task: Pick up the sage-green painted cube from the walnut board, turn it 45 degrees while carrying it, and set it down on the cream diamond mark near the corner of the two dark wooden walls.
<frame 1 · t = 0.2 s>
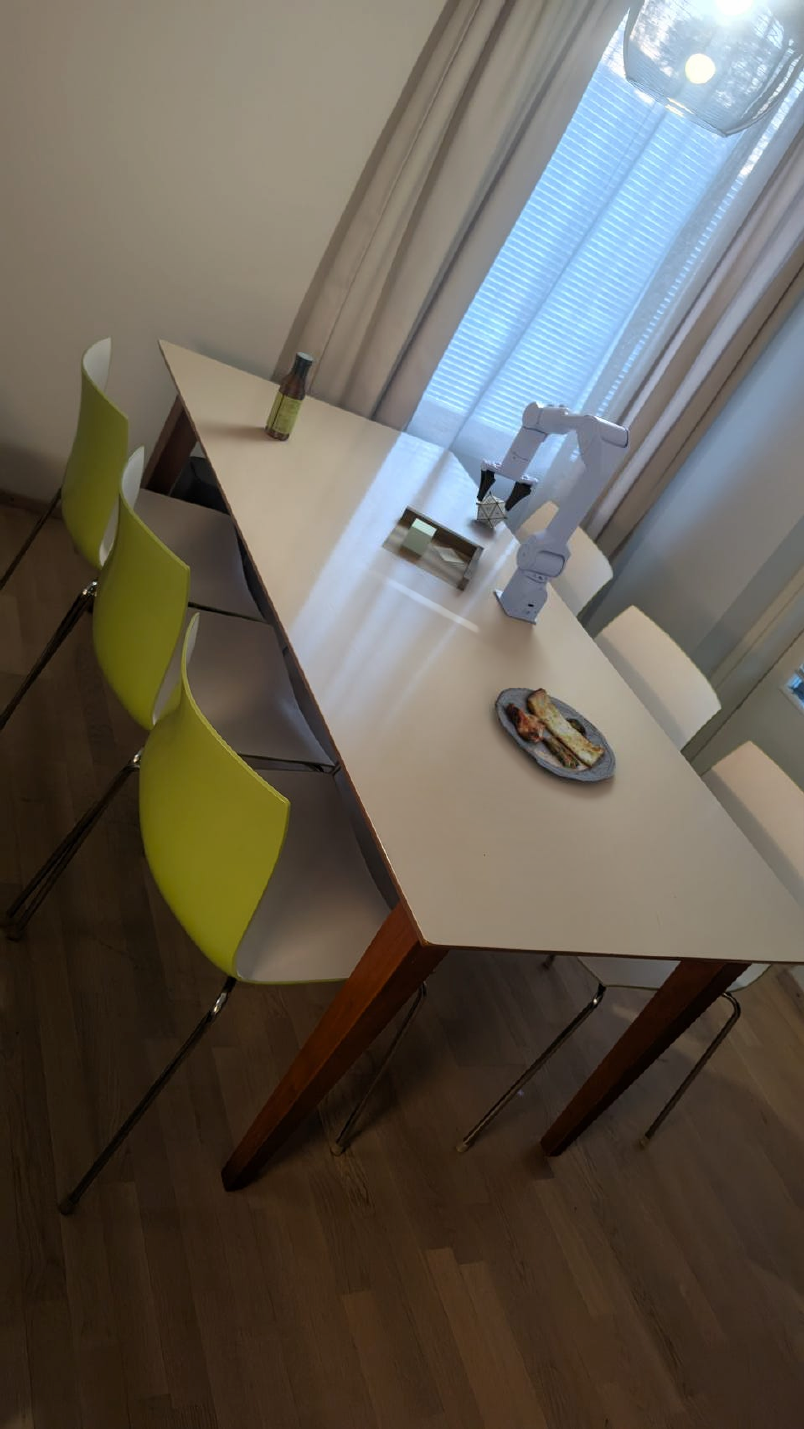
hand: (492, 504, 246), 10 cm above the table, tool pointing down, fingers open, 7 cm apart
food plate: (550, 740, 194), on the table
sauce bottle: (275, 434, 248), on the table
arena: (429, 556, 233), on the table
sage cube: (414, 546, 231), point 1 cm above the table, touching arena
game die: (483, 525, 263), on the table
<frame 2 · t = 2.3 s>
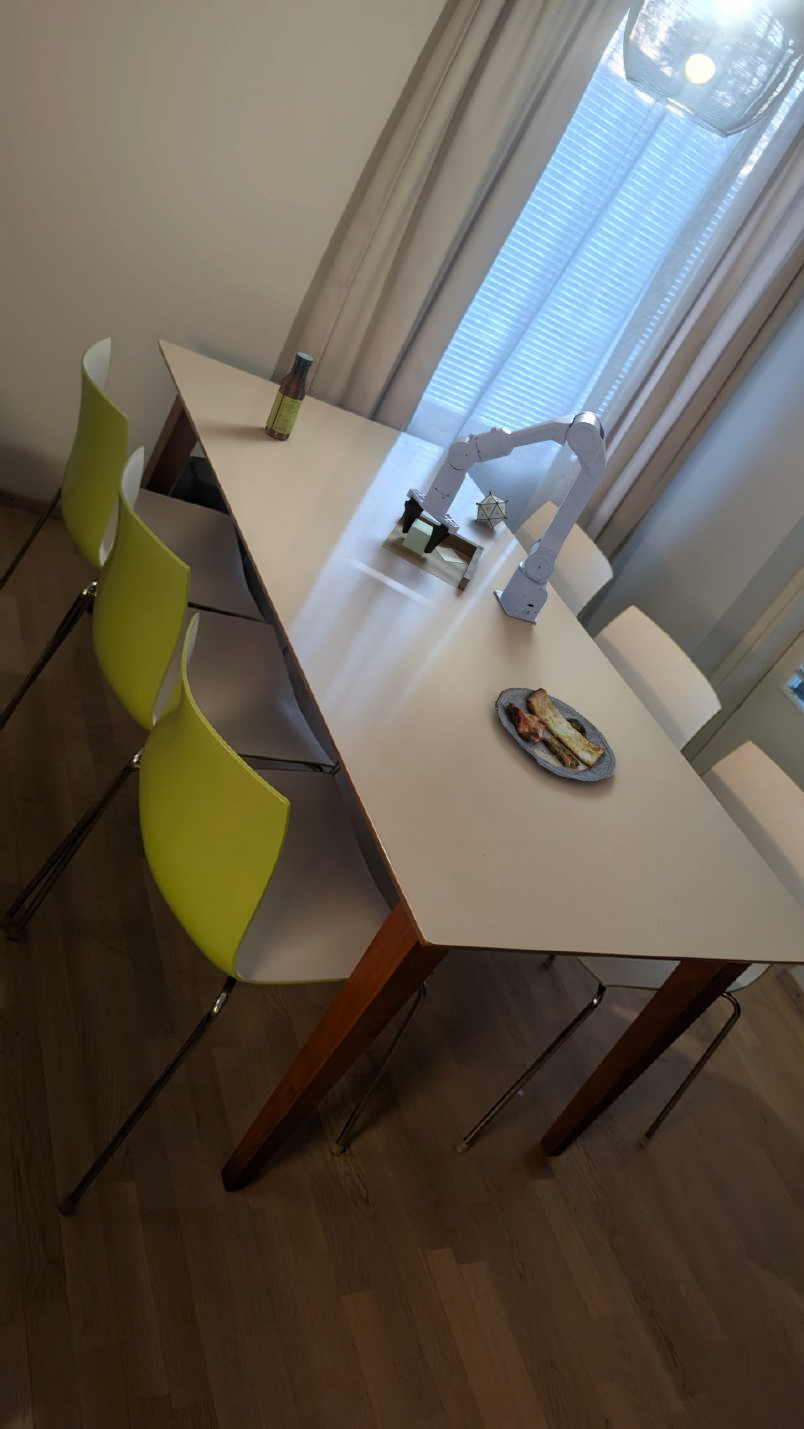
hand: (416, 542, 230), 2 cm above the table, tool pointing down, fingers closed on sage cube, 7 cm apart
sage cube: (414, 546, 231), point 1 cm above the table, touching arena, gripper
everything else where it was.
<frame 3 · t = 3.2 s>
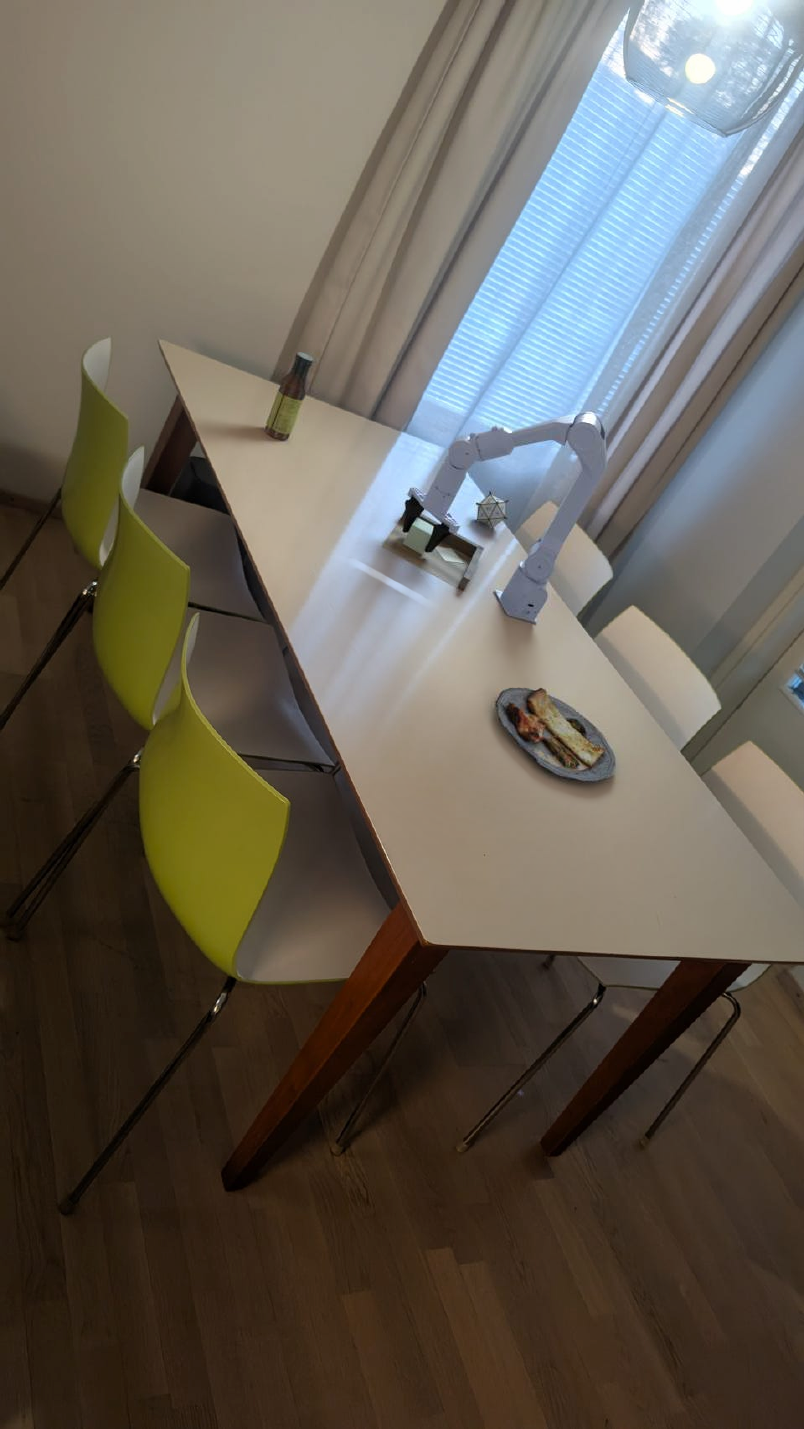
hand: (417, 541, 230), 2 cm above the table, tool pointing down, fingers closed on sage cube, 7 cm apart
sage cube: (415, 545, 231), point 1 cm above the table, touching gripper
everything else where it was.
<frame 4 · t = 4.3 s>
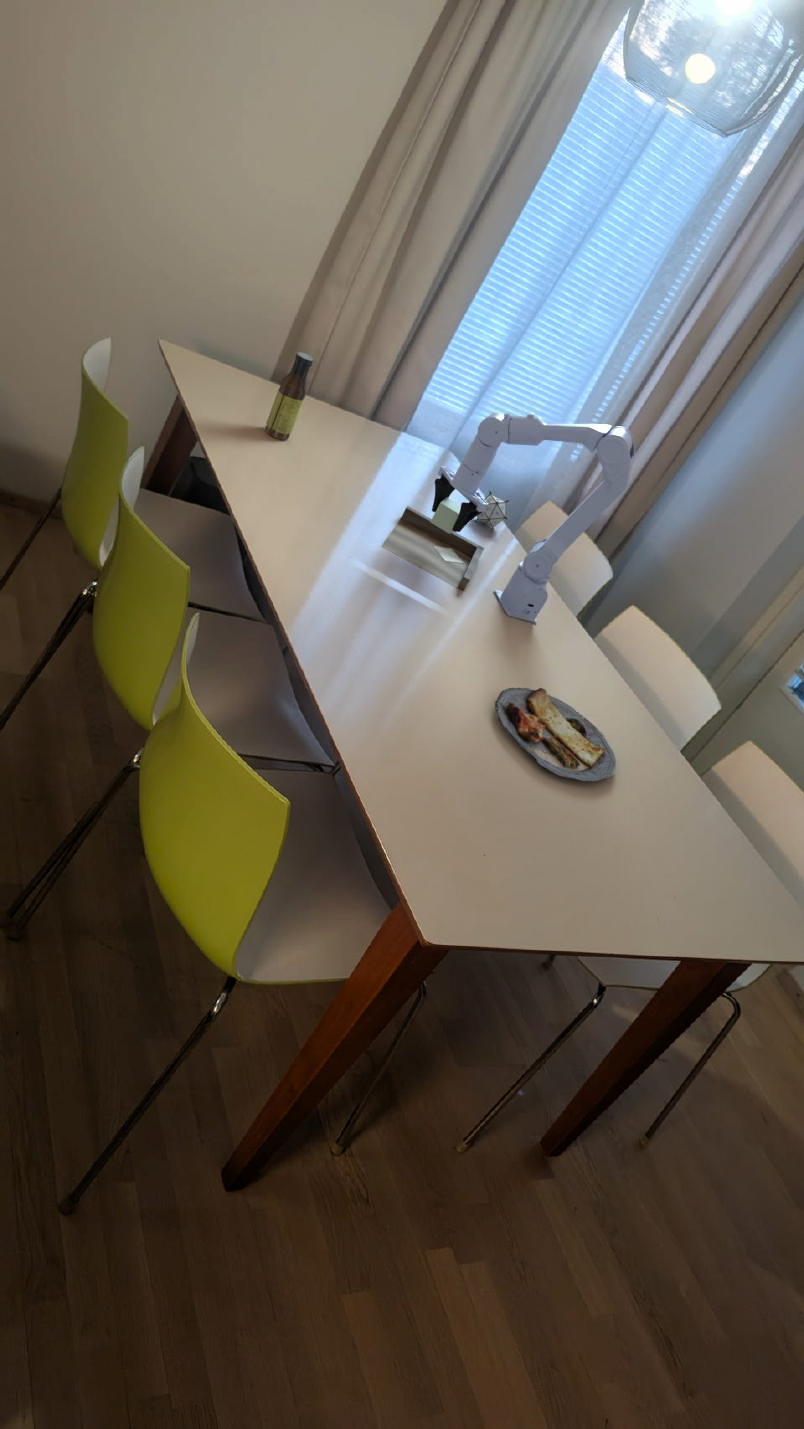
hand: (445, 521, 229), 9 cm above the table, tool pointing down, fingers closed on sage cube, 7 cm apart
sage cube: (443, 525, 229), point 8 cm above the table, touching gripper
everything else where it was.
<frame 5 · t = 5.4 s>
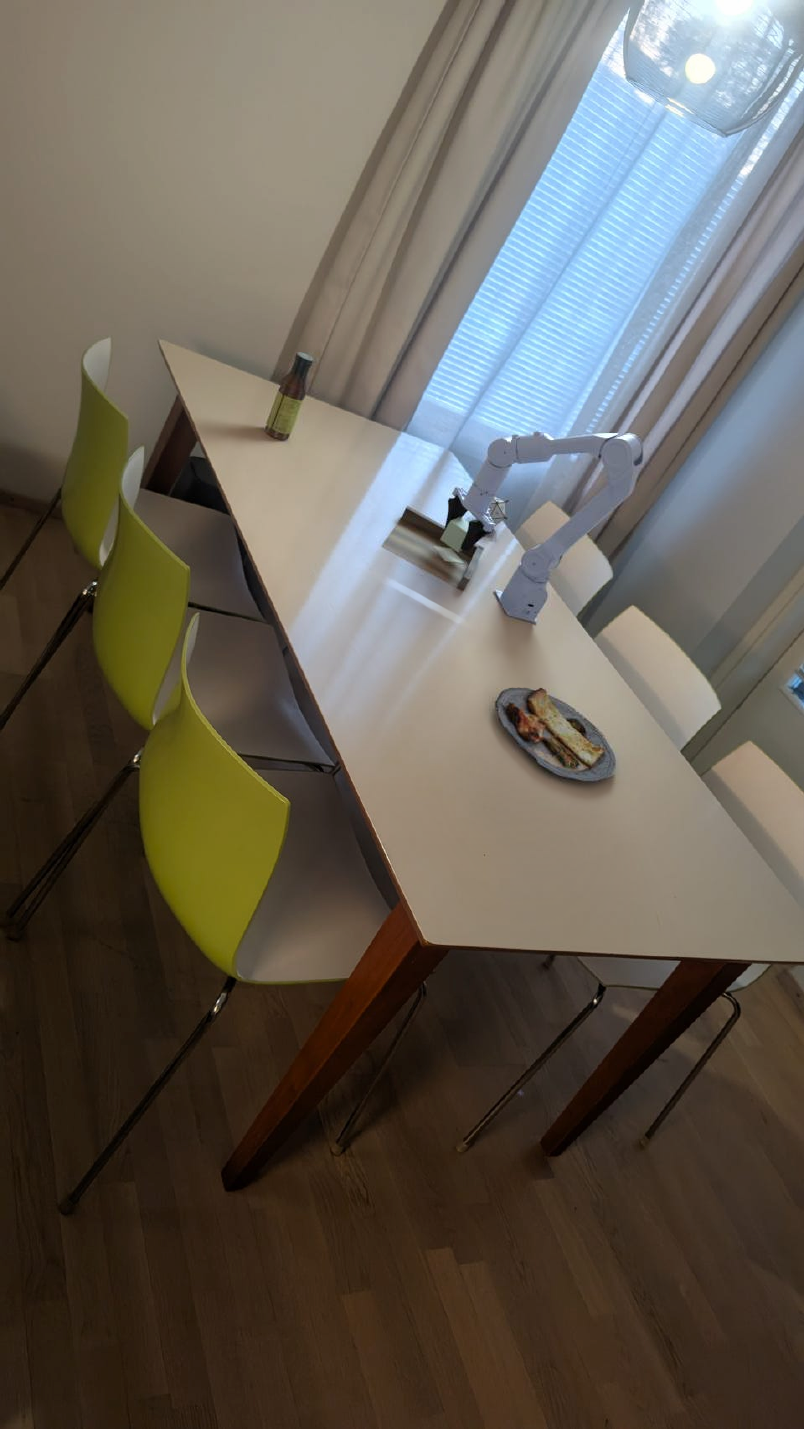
hand: (456, 540, 233), 5 cm above the table, tool pointing down, fingers closed on sage cube, 7 cm apart
sage cube: (453, 543, 234), point 4 cm above the table, touching gripper
everything else where it was.
when the fingers open (3 cm above the table, at t = 6.4 s): sage cube drops 1 cm, resting on arena.
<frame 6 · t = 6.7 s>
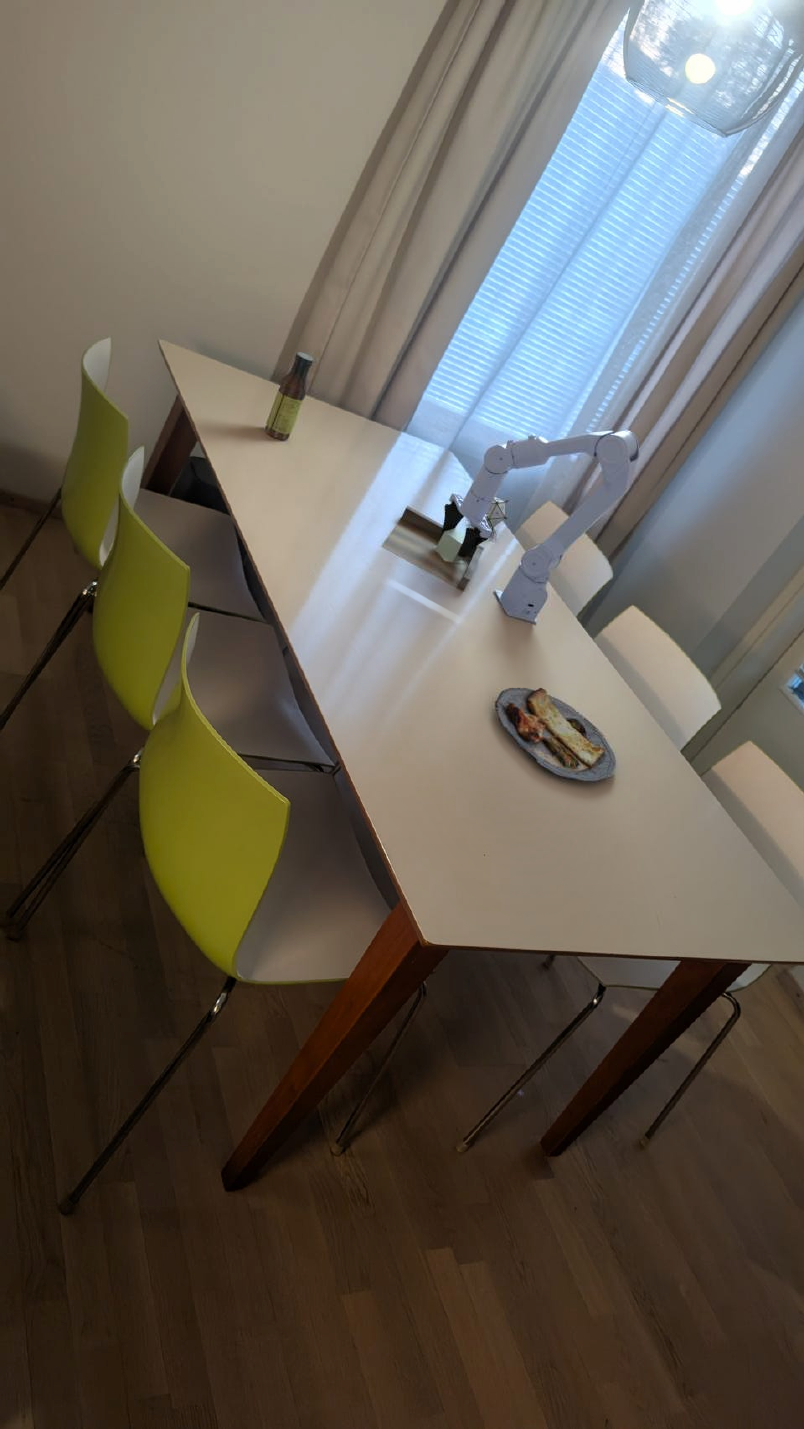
hand: (453, 546, 234), 3 cm above the table, tool pointing down, fingers open, 7 cm apart
sage cube: (448, 554, 235), point 1 cm above the table, touching arena
everything else where it was.
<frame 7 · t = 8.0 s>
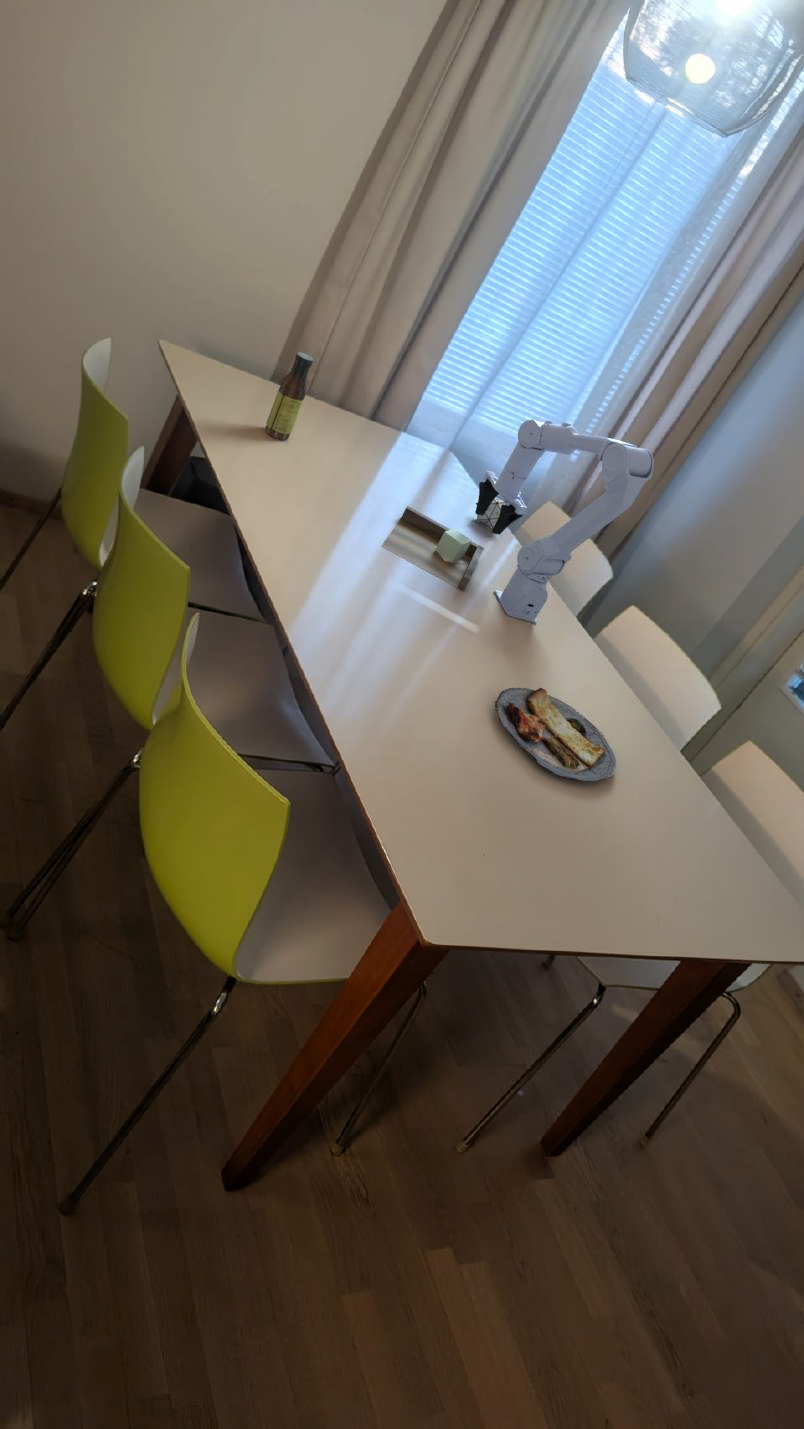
hand: (487, 523, 237), 9 cm above the table, tool pointing down, fingers open, 7 cm apart
nothing on the table moved.
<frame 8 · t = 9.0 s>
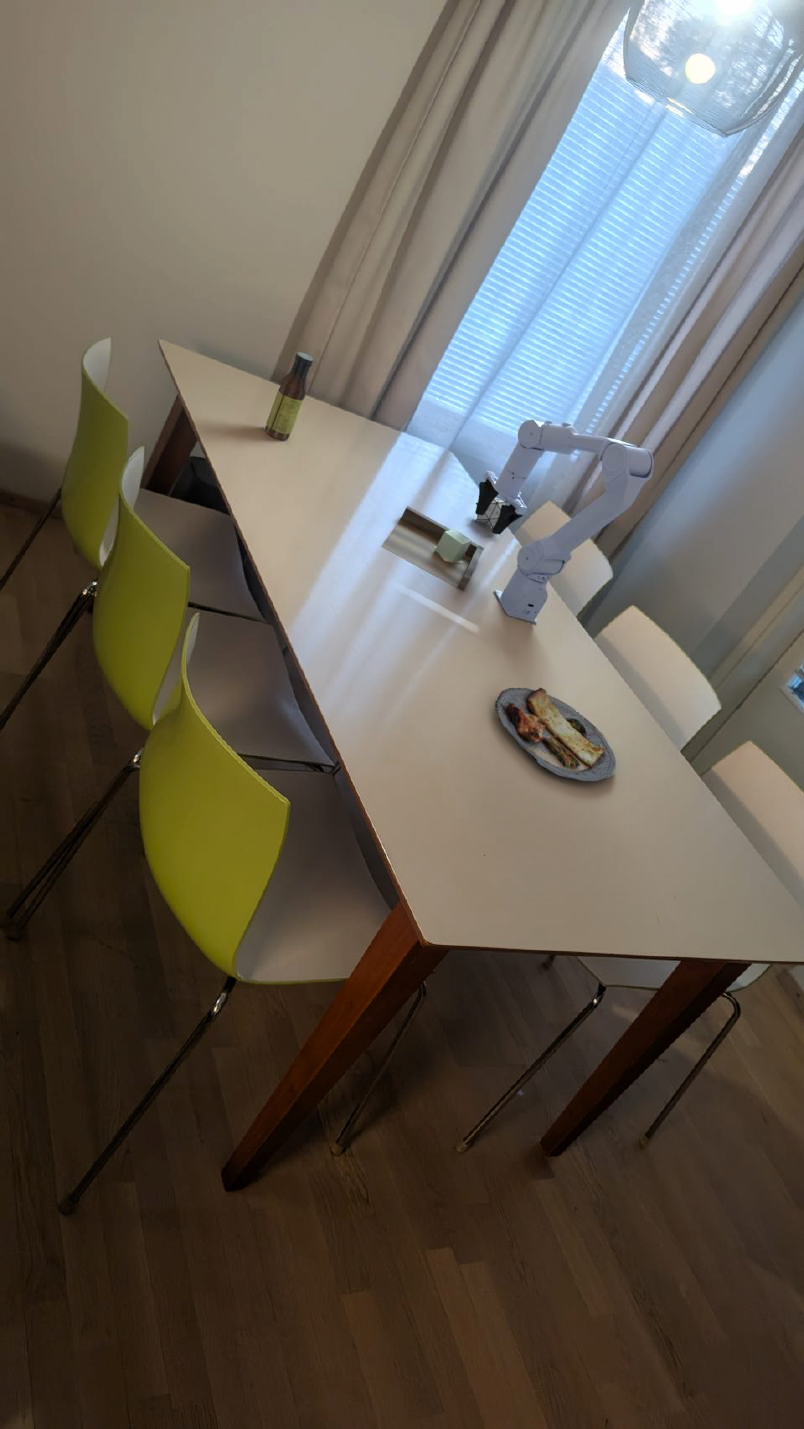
hand: (487, 523, 237), 9 cm above the table, tool pointing down, fingers open, 7 cm apart
nothing on the table moved.
at the end: sage cube 0.1 cm from the target spot on the arena, point 1.1 cm above the arena's base; sage cube tilted 0°; the gripper is holding nothing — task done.
